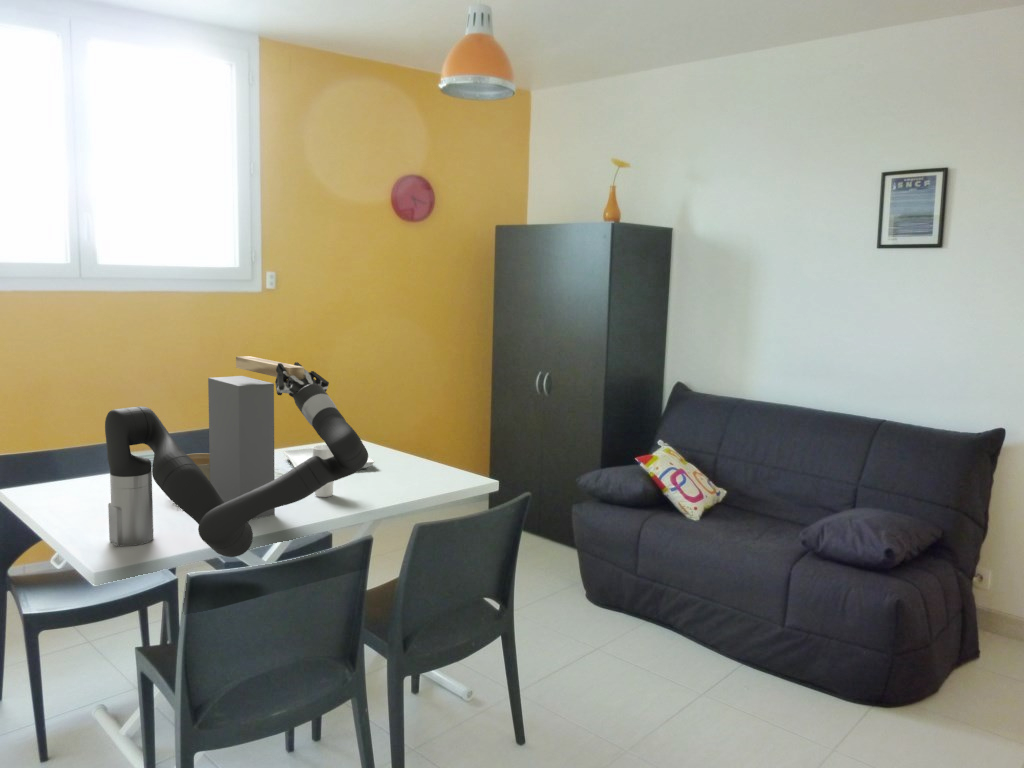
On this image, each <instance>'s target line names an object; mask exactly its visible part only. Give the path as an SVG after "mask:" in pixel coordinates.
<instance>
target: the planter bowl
mask: <svg viewBox="0 0 1024 768" xmlns="http://www.w3.org/2000/svg"><path fill="white" fill-rule="evenodd" d="M186 454H187V453H186ZM187 455H188V456H189V457H190V458H191V459H192V460H193V461H194V463H195V464H196V465H197V466H198V467H199V468H200V469H201V471H202V472H203V473H204V475H205V476H206V477H207V478H208V480H209V481H210V455H209V453H208V452H205V453H204V452H203V453H200V452H199V453H188V454H187Z"/></svg>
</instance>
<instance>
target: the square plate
mask: <svg viewBox="0 0 1024 768" xmlns="http://www.w3.org/2000/svg"><path fill="white" fill-rule="evenodd" d="M282 453H283V454H284V455H285V456H286V457H287V459H288V460H289V461H290V463H291V465H292V466H293V468H295V467H296V466H298V465H300V464H301V463H303V462H304V461H305V462H306V460H307V459H309V458H311V457H313V447H308V448H307V447H306V448H299V449H298V448H297V449H289V450H288V449H287V450H283V451H282ZM374 463H375V460H373V459H372V457H370V456H369V455H368V460H367V462H366V464H365V465H364V466H363V468H361V469H360V470H362V469H367V468H370V467H371V466H372V465H373V464H374Z"/></svg>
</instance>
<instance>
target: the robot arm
mask: <svg viewBox="0 0 1024 768" xmlns="http://www.w3.org/2000/svg"><path fill="white" fill-rule="evenodd" d="M282 363H283V362H281V363H278V365H277V368H276V372H277V373H278V374H277V377H275V381H274V383H275V384H274V385H275V390H276V394H277V396H282V395H283V394H288V396H290V397H291V398H292V399H293V401H294V403H295V405H296V407H297V408H298V410H299V411H300V413H301V414H302V415H303V418H305V420H306V421H307V422H308V424H309V425H310V426H312V428H313V429H314V430H315V432H316V433H317V435H318V436H319V438H321V440H323V442H324V443H325V445H327V446H328V448H329V449H330V451H331V453H332V454H333V457H331V458H328V459H322V458H320V457H319V456H313V457H311V458H309V459H307V460H306V462H305V461H304V462H303V463H301V464H300V465H298V466H296V467H295V468H294V467H293V468H292V469H290V470H289V471H287V472H286V473H283V474H282V475H280V476H278V477H277V478H275V480H273V481H271V482H269V483H267V484H265V485H263V486H261V487H259V488H256V489H254V490H252V491H250V492H248V493H246V494H243V495H241V496H239V497H237V498H235V499H232V500H230V501H228V502H224V501H223V500H222V498H221V497H220V496H219V494H218V493H217V491H216V490H215V488H214V487H213V485H212V484H211V482H210V481H209V480H208V478H207V477H206V476H205V475H204V473H203V472H202V471H201V469H200V468H199V467H198V466H197V465H196V464H195V463H194V461H193V460H192V459H191V458H190V457H189V456H188V455H187V453H186V451H184V450H183V449H182V448H181V446H180V445H179V444H178V443H177V441H175V439H174V438H173V437H172V435H171V434H170V433H169V431H168V430H167V429H166V427H165V425H164V424H163V422H162V420H161V419H160V418H159V416H158V415H157V414H156V413H155V412H154V411H153V409H151V408H149V407H146V406H139V405H138V406H131V407H130V406H129V407H122V408H121V407H120V408H115V409H114V408H113V409H111V410H110V411H108V413H107V415H106V417H105V420H104V432H105V433H104V434H105V435H104V436H105V443H106V455H107V461H108V465H109V476H110V477H109V479H110V480H109V481H110V482H109V483H110V502H108V504H107V507H108V529H109V530H108V533H109V536H108V537H109V541H110V542H111V543H113V545H115V546H116V547H123V546H125V547H126V546H137V545H138V546H139V545H143V544H146V543H149V542H151V541H152V540H153V539H154V508H153V507H154V505H153V480H154V482H155V483H156V484H157V486H158V487H159V489H161V490H162V492H163V493H164V494H165V496H167V497H168V498H169V499H170V500H171V501H172V502H173V503H174V504H175V505H176V506H177V507H178V508H179V509H181V510H182V511H183V512H184V513H185V514H187V516H189V517H190V518H192V519H193V520H194V521H195V522H196V523H197V525H198V534H199V535H198V536H199V537H200V539H201V540H202V541H203V542H204V543H205V544H206V545H207V546H208V547H210V548H211V549H212V550H213V551H214V552H215V553H217V554H218V555H220V556H222V557H226V558H227V557H228V558H236V557H240V556H242V555H244V554H245V553H247V552H248V550H249V549H250V547H251V546H252V543H253V540H254V539H253V538H254V532H253V528H252V525H251V523H250V521H251V520H254V519H253V518H254V517H256V516H257V515H259V514H261V513H263V512H265V511H268V510H270V509H273V508H275V509H277V508H279V507H283V506H284V507H285V506H287V505H291V504H294V503H296V502H299V501H301V500H304V499H305V498H307V497H309V496H310V495H312V494H313V493H315V491H317V490H318V489H320V488H321V487H322V486H324V485H326V484H327V483H329V482H332V481H334V482H335V481H338V480H339V481H340V480H341V479H343V478H346V477H349V476H351V475H353V474H354V475H355V474H356V473H357V472H359V471H360V470H362V469H364V468H363V466H364V465H365V464H366V462H367V460H368V456H369V453H368V450H367V448H366V447H365V444H364V443H363V441H362V440H361V437H360V436H359V435H358V434H357V432H356V430H354V429H353V427H352V426H351V425H350V424H349V423H348V422H347V421H346V419H345V418H344V416H343V414H342V413H341V412H340V411H339V410H338V408H337V406H336V404H335V402H334V400H332V398H331V397H330V396H329V395H328V393H327V391H328V388H329V384H330V382H329V381H328V380H326V379H325V378H323V377H322V376H321V375H320V374H319V373H317V372H316V371H314V370H311V371H310V372H309V371H308V370H306V369H305V368H304V379H297V378H296V377H295V376H294V375H290V374H289V373H288V372H287V370H286V369H285V368H284V366H283V365H282ZM293 365H296V366H301V367H303V365H302V364H300V363H299V362H297V361H296V362H294V364H293ZM286 378H288V380H287V379H286ZM142 444H143V445H147V446H148V447H149V448H150V449H151V451H153V453H154V454H153V460H151V459H149V458H147V457H143V456H137V455H133V453H132V452H131V446H137V445H142ZM361 468H362V469H361Z"/></svg>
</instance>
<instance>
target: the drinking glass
mask: <svg viewBox="0 0 1024 768" xmlns="http://www.w3.org/2000/svg"><path fill="white" fill-rule="evenodd" d="M312 448H313V456H319V457H320V458H322V459H328V458H331V457H333V454H332V453H331V451H330V449H329V448H328V446H327V445H326V444H324V445H322V444H321V445H314V446H313V447H312ZM334 482H335V481H332V482H329V483H327V484H326V485H324V486H322V487H321V488H320V489H318V490H317V491H315V492H314V496H315V497H317V498H329V497H332V496H333V495H334Z"/></svg>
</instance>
